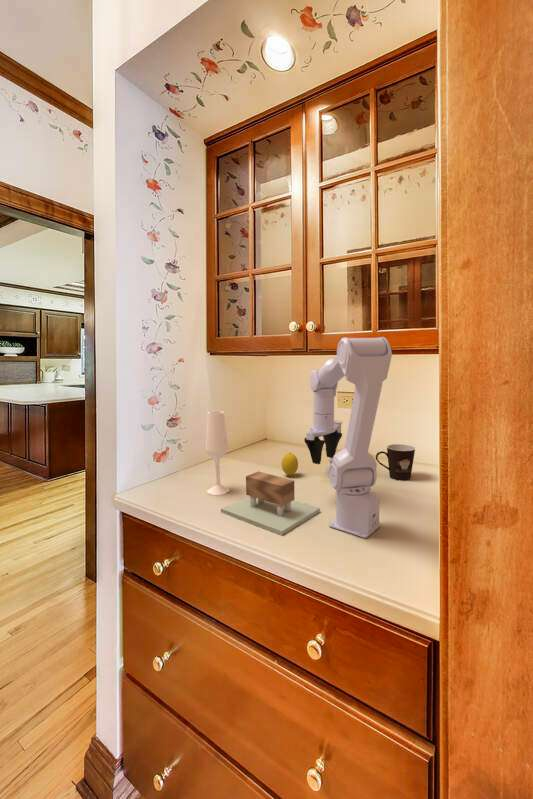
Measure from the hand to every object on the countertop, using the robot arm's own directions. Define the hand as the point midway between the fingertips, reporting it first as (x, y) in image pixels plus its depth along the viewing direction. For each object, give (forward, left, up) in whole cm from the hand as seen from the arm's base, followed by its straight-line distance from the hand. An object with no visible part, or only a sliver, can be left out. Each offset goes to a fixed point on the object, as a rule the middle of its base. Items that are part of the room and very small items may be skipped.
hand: (323, 460), depth 104 cm
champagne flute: (+27, +16, -11) cm, 33 cm away
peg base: (+5, +18, -10) cm, 21 cm away
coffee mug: (-10, -28, -11) cm, 32 cm away
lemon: (+18, -8, -11) cm, 22 cm away
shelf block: (+5, +18, -6) cm, 20 cm away
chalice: (+8, -18, -11) cm, 22 cm away
